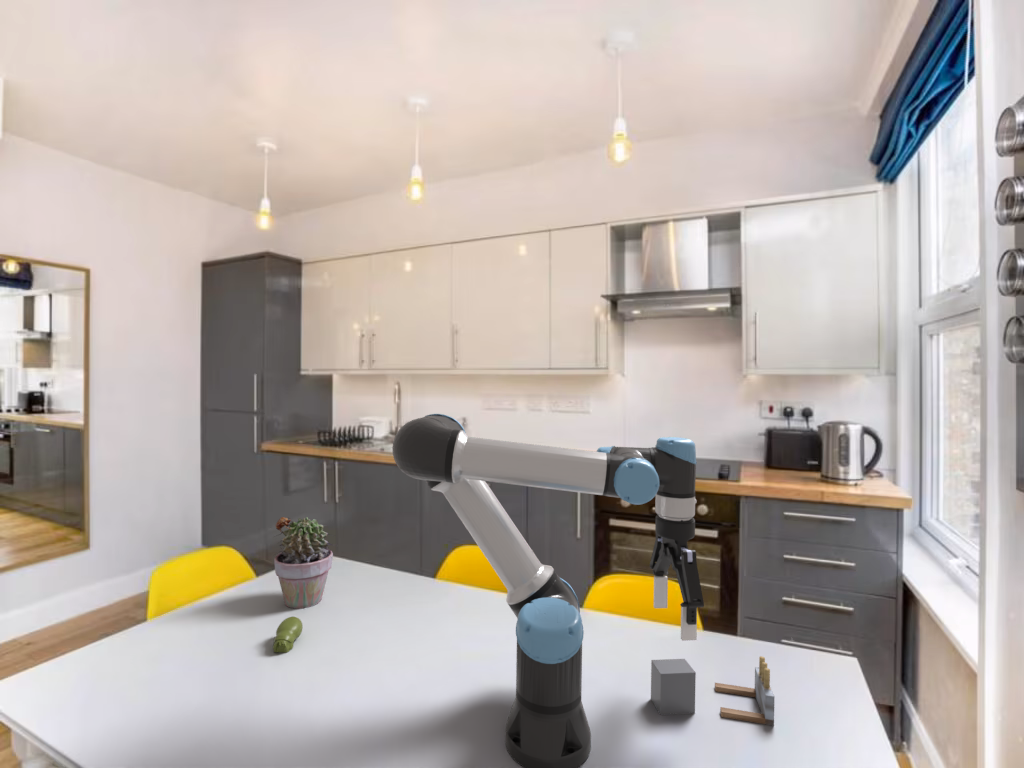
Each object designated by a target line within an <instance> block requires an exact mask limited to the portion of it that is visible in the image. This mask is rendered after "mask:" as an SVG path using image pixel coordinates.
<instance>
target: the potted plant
mask: <svg viewBox="0 0 1024 768" xmlns="http://www.w3.org/2000/svg"><path fill="white" fill-rule="evenodd" d="M297 519H298V521H297V522H295V521H292V519H291V518H290V517H284V516H283V517H280V518H279V519H278V520H277V522H276V523H275V528H276V530H278V531H280V534H277V535H275V536H274V535H273V538H274V537H277V536H280V535H282V534H283V536H284V537H283V538H281V540H280V541H279V543H281V544H279V545H278V546H279V547H280V549H281V550H280V551H279V552H278V553H277V554H276V555H275V557H274V559H273V562H274V563H273V564H274V571H275V572H274V573H275V575H276V576H277V577H278V582H279V585H280V589H281V592H282V597H283V600H284V601H283V602H284V605H285V606H286V607H288V608H290V609H298V610H299V609H306V608H307V609H308V608H310V607H314V606H315V605H318V604H319V603H320V602H321V601H322V600H323V595H324V593H325V592H324V590H325V587H326V584H327V578H328V575H329V572H330V570H331V569H332V565H333V561H335V560H334V559H333V556H334V553H333V551H332V550H331V549H329V548H328V546H334V547H335V548H336V547H337V546H336V545H337V544H333V543H329V540H326V539H325V538H327V536H328V535H329V536H330V534H329V533H328V532H326V531H324V527H325V526H326V525H323V524H319V523H318V519H315V518H313V519H312V520H311V519H309V517H307V516H305V517H303V518H301V517H298V518H297ZM284 527H285V528H286V530H284V531H283V528H284ZM332 536H333V537H334V536H335V535H333V534H332ZM282 547H283V548H282Z"/></svg>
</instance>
